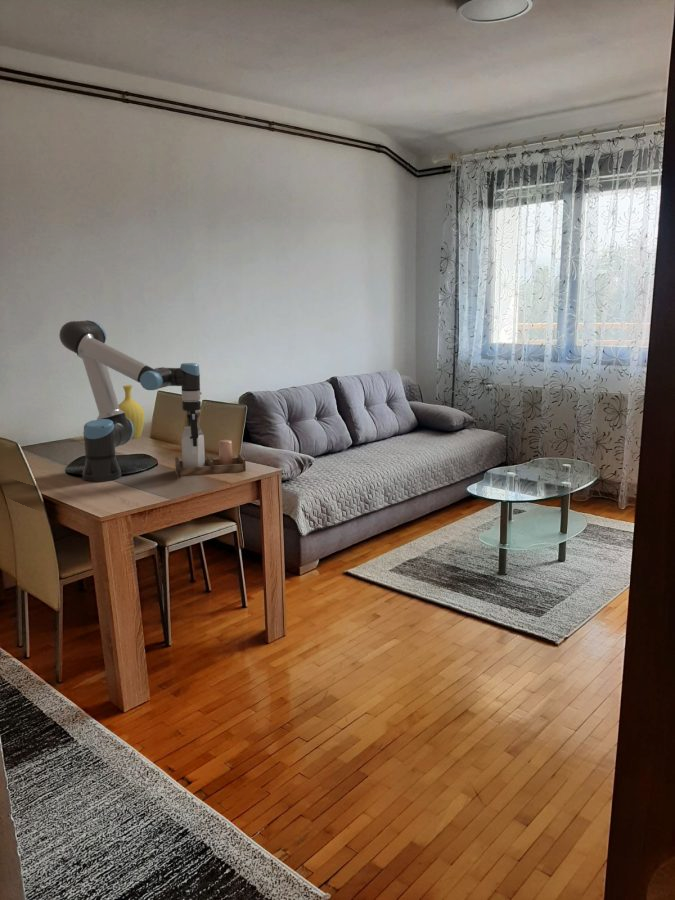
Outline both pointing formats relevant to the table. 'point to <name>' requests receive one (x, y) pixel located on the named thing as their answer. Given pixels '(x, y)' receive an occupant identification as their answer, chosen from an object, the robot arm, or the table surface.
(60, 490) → the table surface
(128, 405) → the vase
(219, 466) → the rack
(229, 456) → the canister
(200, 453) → the milk carton
